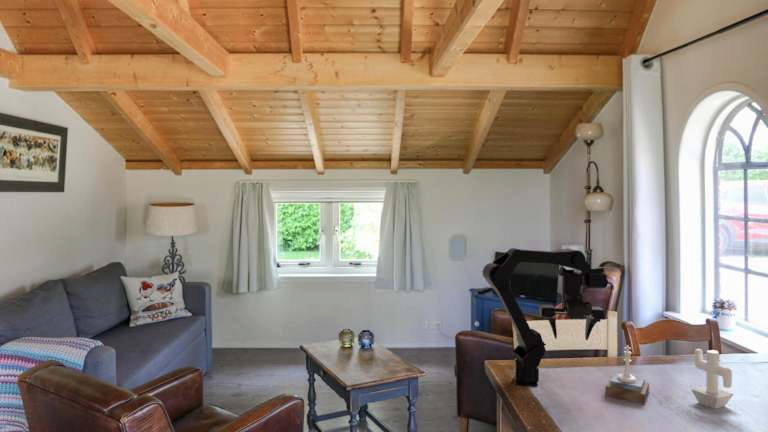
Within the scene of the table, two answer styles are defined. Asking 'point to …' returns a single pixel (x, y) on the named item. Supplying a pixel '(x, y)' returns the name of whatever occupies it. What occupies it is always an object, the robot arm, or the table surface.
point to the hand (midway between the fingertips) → (570, 339)
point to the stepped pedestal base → (627, 389)
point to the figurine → (712, 380)
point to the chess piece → (627, 368)
